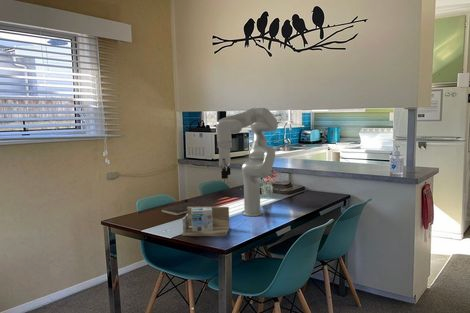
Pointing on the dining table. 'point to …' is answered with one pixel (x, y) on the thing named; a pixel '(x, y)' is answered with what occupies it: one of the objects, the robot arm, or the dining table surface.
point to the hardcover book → (180, 208)
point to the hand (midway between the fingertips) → (226, 176)
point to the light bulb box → (202, 219)
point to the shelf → (219, 223)
